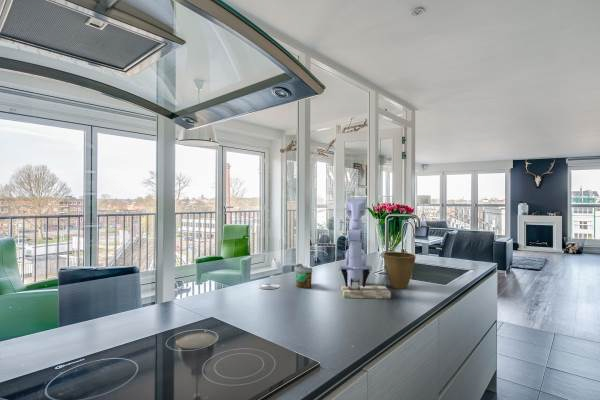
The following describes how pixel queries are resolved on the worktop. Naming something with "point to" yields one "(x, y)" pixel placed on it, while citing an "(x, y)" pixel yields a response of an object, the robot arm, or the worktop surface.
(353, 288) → the silver metal cylinder
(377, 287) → the board
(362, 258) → the robot arm
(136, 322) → the worktop surface
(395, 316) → the worktop surface
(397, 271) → the plant pot
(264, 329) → the worktop surface
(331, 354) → the worktop surface
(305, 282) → the food container
